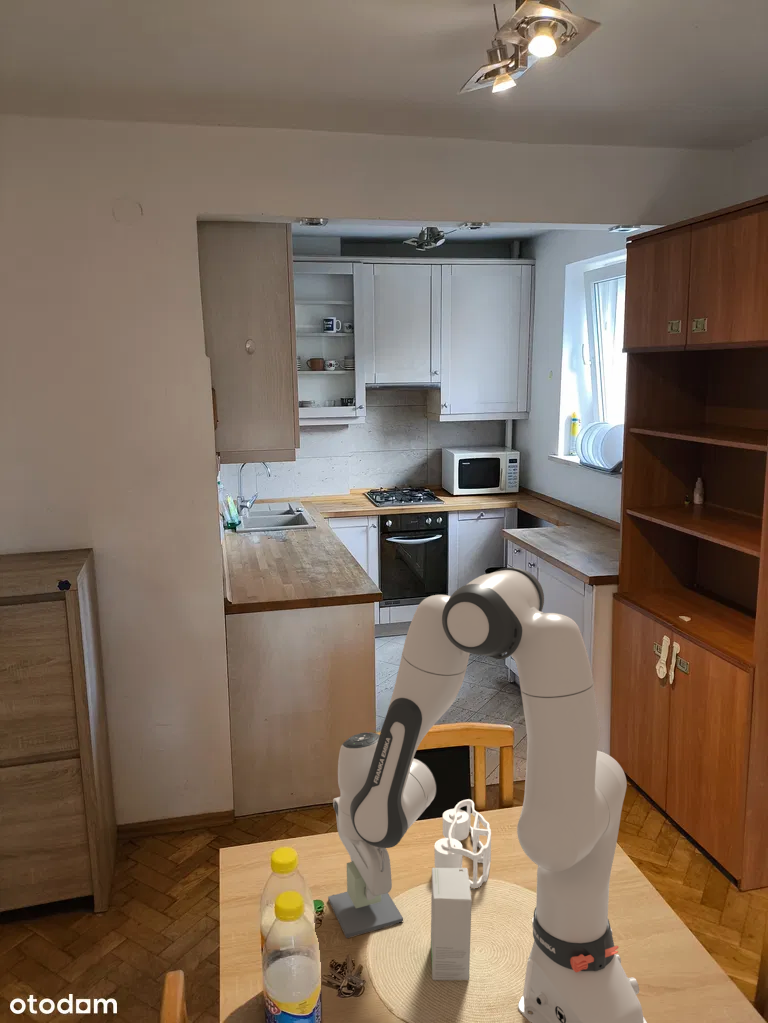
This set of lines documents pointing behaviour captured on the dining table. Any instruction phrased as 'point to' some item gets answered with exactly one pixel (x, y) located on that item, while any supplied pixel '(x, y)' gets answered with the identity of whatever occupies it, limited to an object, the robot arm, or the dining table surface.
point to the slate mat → (364, 914)
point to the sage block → (358, 887)
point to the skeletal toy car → (458, 829)
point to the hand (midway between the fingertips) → (364, 886)
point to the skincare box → (450, 924)
